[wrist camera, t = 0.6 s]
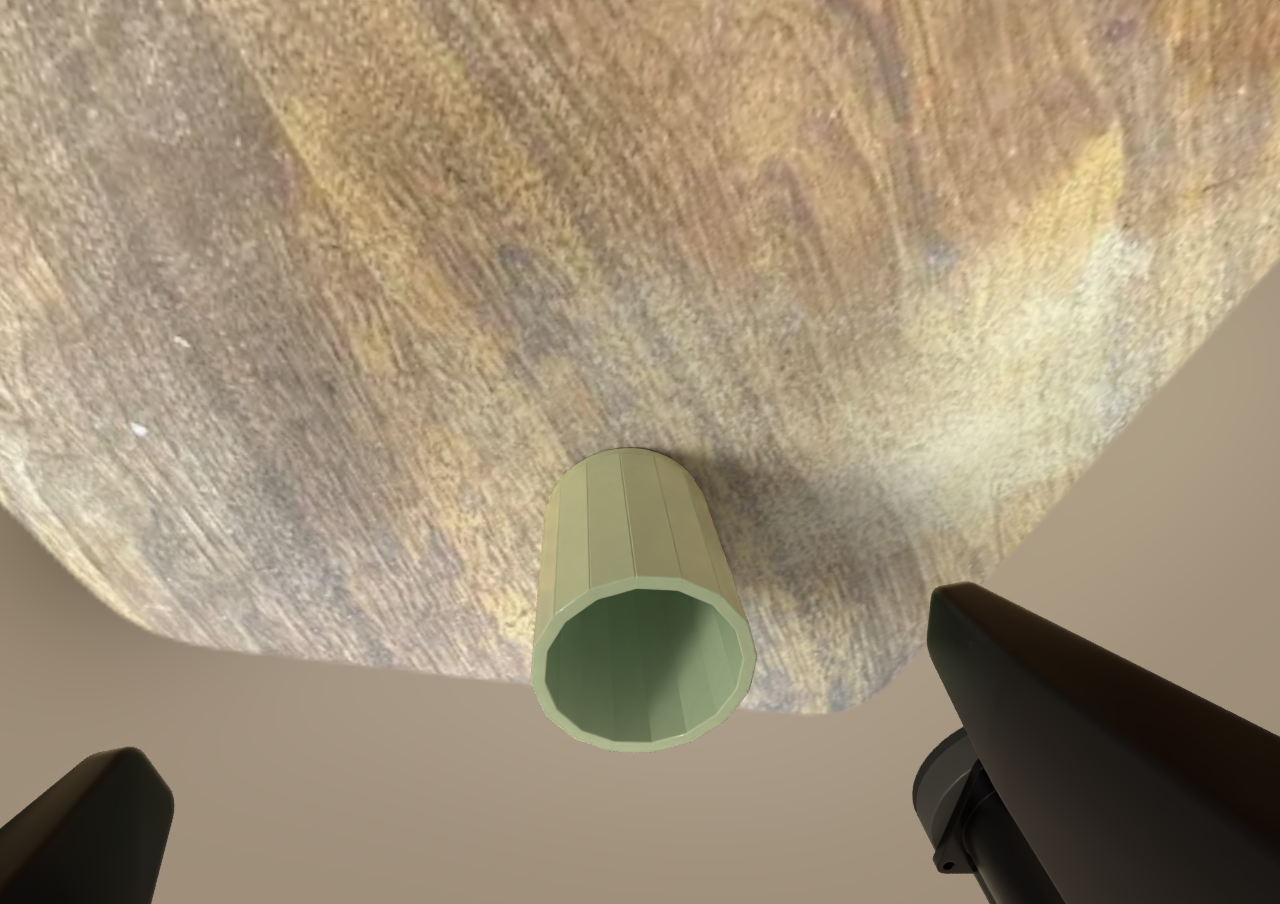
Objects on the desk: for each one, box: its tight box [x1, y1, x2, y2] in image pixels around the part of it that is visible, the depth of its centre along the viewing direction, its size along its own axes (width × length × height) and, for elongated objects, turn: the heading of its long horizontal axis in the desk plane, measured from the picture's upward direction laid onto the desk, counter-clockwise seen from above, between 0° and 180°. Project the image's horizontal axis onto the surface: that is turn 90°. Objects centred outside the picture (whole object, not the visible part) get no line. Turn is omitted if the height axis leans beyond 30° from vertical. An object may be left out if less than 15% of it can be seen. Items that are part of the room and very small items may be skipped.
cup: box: [530, 448, 757, 752], centre depth 19 cm, size 5×5×7 cm
